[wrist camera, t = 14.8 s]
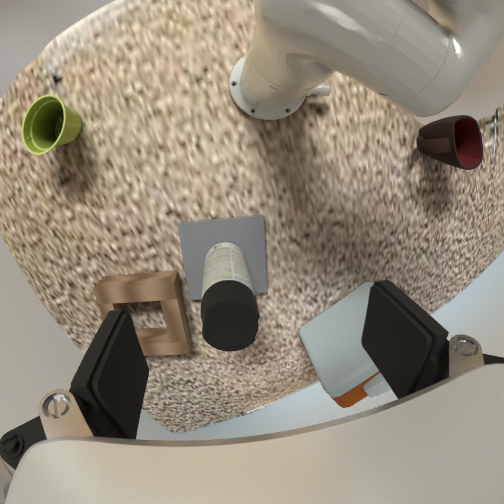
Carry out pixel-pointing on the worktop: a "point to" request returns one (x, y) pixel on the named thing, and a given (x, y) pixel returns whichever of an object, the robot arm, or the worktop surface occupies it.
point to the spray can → (228, 300)
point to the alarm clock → (343, 350)
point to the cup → (453, 141)
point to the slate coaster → (219, 231)
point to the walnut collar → (150, 289)
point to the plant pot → (49, 125)
